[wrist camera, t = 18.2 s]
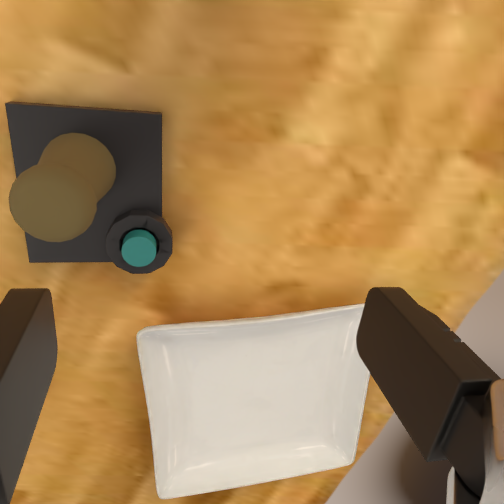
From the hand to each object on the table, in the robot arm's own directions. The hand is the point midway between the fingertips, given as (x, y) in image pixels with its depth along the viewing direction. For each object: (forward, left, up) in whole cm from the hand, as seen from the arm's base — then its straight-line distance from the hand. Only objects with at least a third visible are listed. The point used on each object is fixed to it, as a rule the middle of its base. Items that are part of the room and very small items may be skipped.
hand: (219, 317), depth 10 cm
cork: (+4, -8, -28) cm, 30 cm away
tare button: (+10, -3, -27) cm, 29 cm away
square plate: (+32, +11, -30) cm, 45 cm away
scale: (+6, -7, -30) cm, 31 cm away
